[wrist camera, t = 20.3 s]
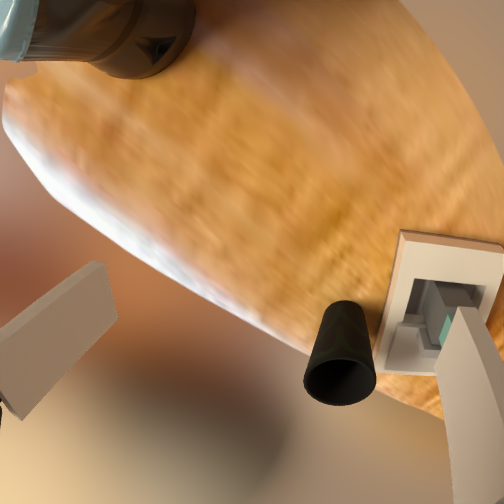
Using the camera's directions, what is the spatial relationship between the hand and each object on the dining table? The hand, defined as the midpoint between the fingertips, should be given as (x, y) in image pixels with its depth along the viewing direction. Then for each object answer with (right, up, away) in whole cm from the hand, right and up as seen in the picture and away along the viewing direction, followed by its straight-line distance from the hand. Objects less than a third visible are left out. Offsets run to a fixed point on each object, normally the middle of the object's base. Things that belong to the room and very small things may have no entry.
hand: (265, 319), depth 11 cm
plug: (+23, -3, +24) cm, 33 cm away
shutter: (+22, -10, +24) cm, 34 cm away
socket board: (+23, -5, +25) cm, 35 cm away
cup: (+12, -6, +30) cm, 33 cm away
